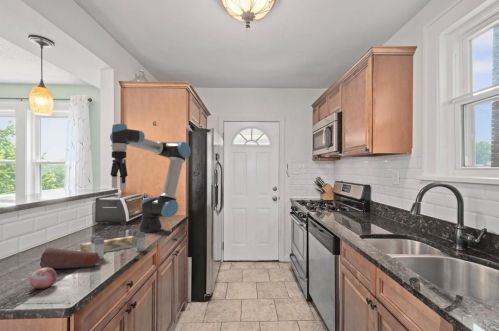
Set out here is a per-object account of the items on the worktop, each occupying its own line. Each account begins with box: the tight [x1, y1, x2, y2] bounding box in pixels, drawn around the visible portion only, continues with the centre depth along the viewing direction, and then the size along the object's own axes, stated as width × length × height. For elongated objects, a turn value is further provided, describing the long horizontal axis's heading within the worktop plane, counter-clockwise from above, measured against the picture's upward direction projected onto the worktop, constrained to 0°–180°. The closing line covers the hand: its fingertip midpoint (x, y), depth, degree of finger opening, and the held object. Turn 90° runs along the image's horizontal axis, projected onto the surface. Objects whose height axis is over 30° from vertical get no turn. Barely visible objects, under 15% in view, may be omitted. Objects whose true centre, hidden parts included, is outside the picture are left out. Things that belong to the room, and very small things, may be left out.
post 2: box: [131, 229, 146, 253], centre depth 149 cm, size 4×7×10 cm, turn 44°
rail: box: [79, 235, 132, 252], centre depth 150 cm, size 28×4×4 cm, turn 133°
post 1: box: [90, 235, 105, 260], centre depth 135 cm, size 4×7×10 cm, turn 44°
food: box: [39, 247, 101, 270], centre depth 122 cm, size 21×9×9 cm, turn 105°
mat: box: [77, 245, 132, 253], centre depth 150 cm, size 32×10×1 cm, turn 133°
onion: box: [29, 267, 58, 290], centre depth 101 cm, size 8×8×7 cm
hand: (118, 188), depth 158 cm, fingers open, 13 cm apart
